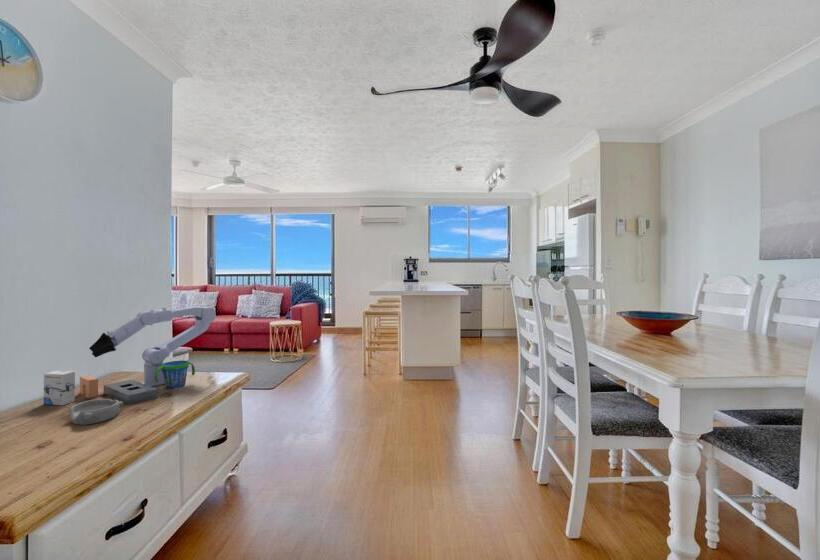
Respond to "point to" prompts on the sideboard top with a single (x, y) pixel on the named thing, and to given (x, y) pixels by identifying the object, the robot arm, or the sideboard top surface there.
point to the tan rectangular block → (89, 386)
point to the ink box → (59, 387)
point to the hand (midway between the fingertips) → (92, 353)
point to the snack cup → (174, 373)
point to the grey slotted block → (130, 391)
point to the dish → (94, 411)
